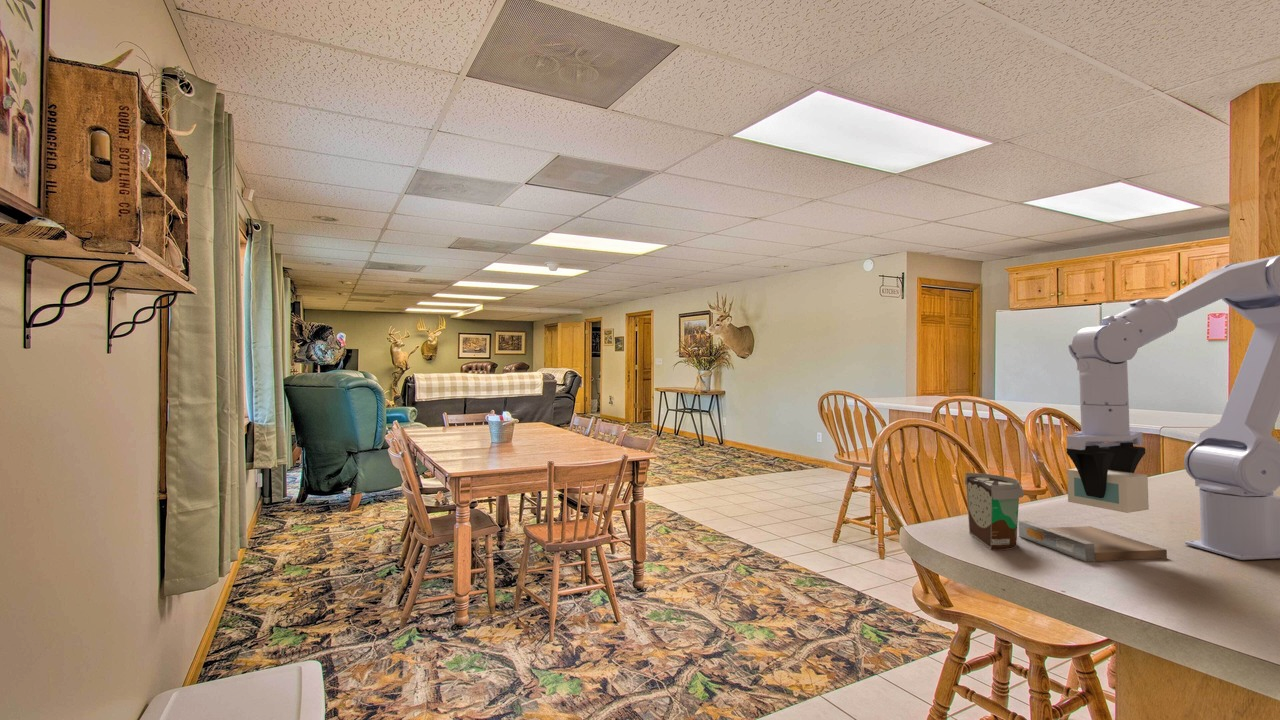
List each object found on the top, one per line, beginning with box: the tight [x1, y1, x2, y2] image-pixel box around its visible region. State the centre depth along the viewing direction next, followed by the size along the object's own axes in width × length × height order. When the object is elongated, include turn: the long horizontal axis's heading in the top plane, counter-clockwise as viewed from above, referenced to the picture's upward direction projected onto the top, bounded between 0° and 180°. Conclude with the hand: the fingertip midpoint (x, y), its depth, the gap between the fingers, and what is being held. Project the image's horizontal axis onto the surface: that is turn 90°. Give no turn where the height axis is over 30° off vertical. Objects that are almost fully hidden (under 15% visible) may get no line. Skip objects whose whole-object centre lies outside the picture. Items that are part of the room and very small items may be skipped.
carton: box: [1066, 467, 1150, 514], centre depth 87 cm, size 8×5×5 cm, turn 21°
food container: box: [964, 472, 1025, 551], centre depth 93 cm, size 12×6×10 cm, turn 168°
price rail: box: [1018, 520, 1096, 563], centre depth 89 cm, size 2×13×2 cm, turn 5°
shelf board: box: [1049, 525, 1168, 562], centre depth 89 cm, size 11×13×1 cm
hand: (1107, 495), depth 87 cm, fingers closed on carton, 5 cm apart
